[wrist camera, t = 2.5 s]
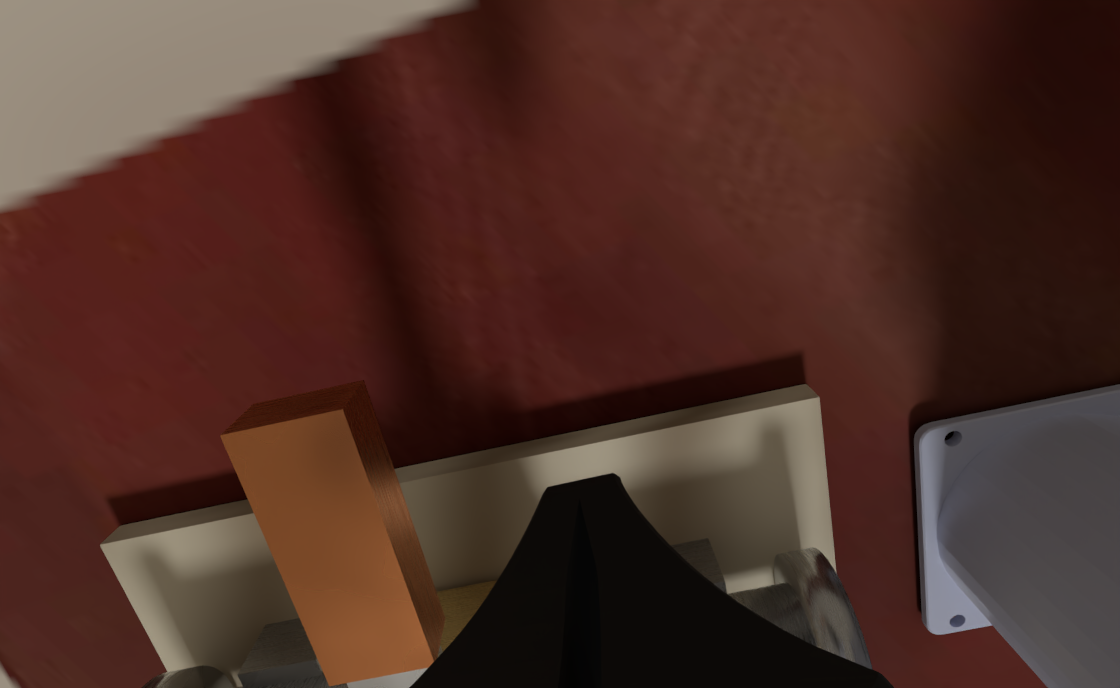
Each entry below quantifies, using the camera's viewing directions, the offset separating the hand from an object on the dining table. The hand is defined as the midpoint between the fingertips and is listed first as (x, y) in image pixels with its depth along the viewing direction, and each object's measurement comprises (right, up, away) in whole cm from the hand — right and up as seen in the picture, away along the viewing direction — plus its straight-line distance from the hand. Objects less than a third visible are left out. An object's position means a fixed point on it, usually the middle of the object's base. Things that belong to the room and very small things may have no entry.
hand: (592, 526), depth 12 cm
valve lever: (-4, -3, +2) cm, 5 cm away
